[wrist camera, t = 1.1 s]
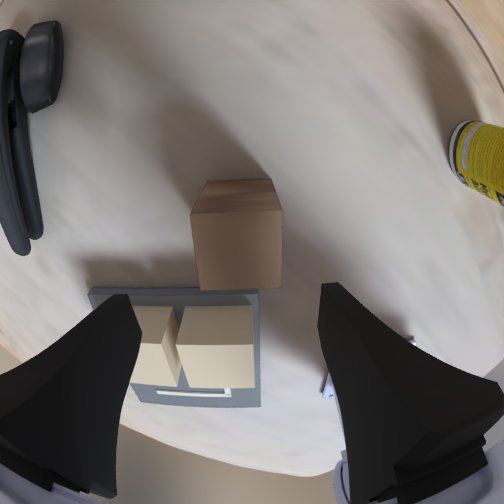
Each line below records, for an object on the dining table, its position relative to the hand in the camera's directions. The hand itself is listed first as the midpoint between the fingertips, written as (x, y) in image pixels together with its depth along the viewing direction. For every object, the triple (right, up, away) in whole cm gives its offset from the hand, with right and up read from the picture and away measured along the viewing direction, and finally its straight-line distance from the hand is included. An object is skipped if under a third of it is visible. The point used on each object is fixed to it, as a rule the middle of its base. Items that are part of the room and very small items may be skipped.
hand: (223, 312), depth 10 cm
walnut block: (0, +5, +8) cm, 10 cm away
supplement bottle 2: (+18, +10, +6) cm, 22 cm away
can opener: (-16, +11, +5) cm, 20 cm away
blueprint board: (-5, -8, +15) cm, 17 cm away
